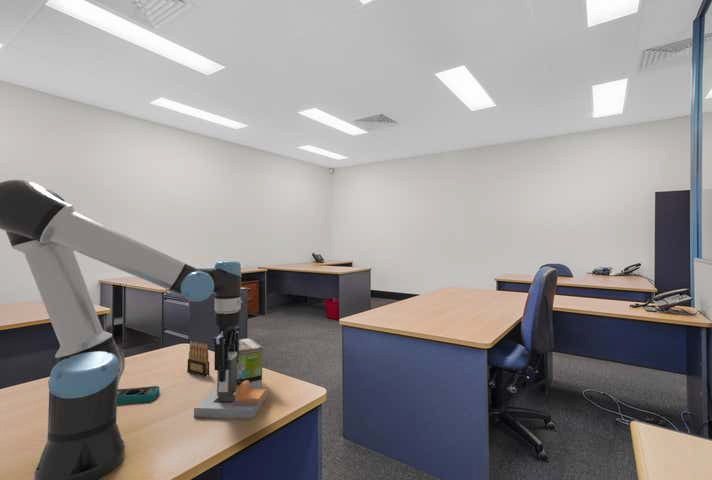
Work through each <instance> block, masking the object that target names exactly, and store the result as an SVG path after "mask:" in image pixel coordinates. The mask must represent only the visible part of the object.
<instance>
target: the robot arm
mask: <svg viewBox="0 0 712 480" xmlns="http://www.w3.org/2000/svg"><path fill="white" fill-rule="evenodd" d="M0 230H2V231H5V234H6V236H7V238H8V240H9V243H10V245H11V247H12V249H13V250H16V251H19V252H22V253H23V254H24V257H25V259H26V261H27V264H28V267H29V269H30V272H31V275H32V277H33V279H34V281H35V284H36V287H37V290H38V291H39V295H40V297H41V300H42V302H43V304H44V305H43V306H44V307H45V309H46V310H45V311H46V313H47V316H48V318H49V321H50V322H51V326H52V329H53V330H54V333H55V335H56V338H57V340H58V343H59V349H58V350H57V352H56V354H55V355H54V357H55V360H56V361H57V363H56V364H55V365H54V366H53V367H52V369H51V370H50V371H51V372H50V373H49V374H50V375H49V379H48V383H47V384H48V385H47V386H48V410H47V411H48V413H47V414H48V415H47V439H46V444H45V446H44V447H43V451H42V453H41V456H40V458H39V462H38V464H37V465H36V468H35V470H34V474H33V475H34V477H33V478H34V479H33V480H96V479H97V480H98V479H101V478H102V477H104V476H105V475H106V476H107V474H109V473H111V472H112V471H113V470H115V469H116V468H118V466H119V465H120V464H121V463H122V462H123V460H124V459H125V455H126V454H125V453H126V445H125V442H124V439H123V438H122V435H121V432H120V429H119V427H118V426H119V425H118V424H117V411H118V405H117V390H118V388H119V383H120V380H121V378H122V375H123V372H124V370H125V366H126V365H125V364H126V361H125V360H126V359H125V356H124V353H123V352H122V350H121V349H120V348H119V347H118V346H117V343H116V340H115V338H114V336H113V334H112V333H111V332H108V331H105V330H103V327H102V324H101V322H100V319H99V316H98V314H97V311H96V309H95V306H94V302H93V300H92V297H91V295H90V291H89V290H88V287H87V284H86V281H85V279H84V276H83V273H82V270H81V268H80V264H79V262H78V259H77V256H76V254H75V252H77V253H79V254H81V255H84V256H86V257H88V258H91V259H94V260H95V261H97V262H98V261H99V262H101V263H103V264H105V265H107V266H111V267H113V268H114V269H118V270H120V271H122V272H124V273H127V274H129V275H131V276H134V277H136V278H139V279H142V280H144V281H147V282H148V283H151V284H154V285H156V286H159V287H161V288H163V289H165V290H168V291H169V293H170V294H171V296H180V297H181V296H182V297H183V298H185V299H186V300H188V301H191V302H195V303H196V302H197V303H198V302H203V301H205V300H207V299H209V297H211V295H212V294H214V311H215V313H214V326H217V327H218V328H219V329H218V334H217V335H218V336H214V337H213V345H214V371H217V372H218V371H219V382H218V392H228V377H229V369H227V364H228V354H229V352H237V359H238V358H239V340H240V332H241V327H237V326H238V325H239V324H241V322H242V321H241V319H242V318H241V317H242V313H241V311H240V310H241V305H242V303H243V300H242V297H241V295H242V291H241V290H242V276H243V275H242V269H241V268H242V265H241V263H240V262H239V261H235V260H225V261H224V260H223V261H216V262H215V264H214V267H210V268H197V267H194V266H192V265H189V264H187V263H185V262H183V261H180V260H179V259H177V258H174V257H172V256H171V255H168V254H166V253H164V252H161V251H160V250H158V249H155V248H153V247H151V246H149V245H147V244H144V243H142V242H140V241H138V240H136V239H133V238H132V237H129V236H127V235H125V234H123V233H120V232H119V231H116V230H114V229H112V228H110V227H107V226H106V225H103V223H102V224H101V223H99V222H97V221H96V220H93V219H92V218H91V219H90V218H89V217H86V216H84V215H82V214H80V213H78V212H76V211H75V208H74V206H73V205H72V204H70V203H68V202H66V201H65V199H64V198H62V197H61V195H59V194H57V193H56V192H55V191H51V190H49V189H47V188H45V187H44V186H41V185H40V184H37V183H35V182H32V181H29V180H23V179H19V180H18V179H13V180H11V179H10V180H5V181H2V182H0ZM74 251H75V252H74ZM224 343H226V344H224ZM238 362H239V360H237V363H238Z"/></svg>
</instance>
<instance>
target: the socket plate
mask: <svg viewBox="0 0 712 480" xmlns="http://www.w3.org/2000/svg"><path fill="white" fill-rule="evenodd" d="M266 398H267V399H268V389H266V395H265V396H264V397H263V399H262V400H261V401H260V403H259V404H256V403H254V402H235V393H234V394H233V395H232V396H231V397H228V396H217V388H215V389H214V390H213V391H211V393H209V394H208V395H207V396H205V398H204V399H203V400H201V402H199V403H198V404H197V405H196V406H195V407H193V417H194V418H217V419H218V418H221V419H225V418H226V419H248V420H249V419H251V420H252V419H253V418H254V417H255V415H257V413H258V411H259V410H260V408H261V407H262V406H263V404H264V403H265V401H267V399H266Z"/></svg>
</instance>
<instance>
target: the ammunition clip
mask: <svg viewBox="0 0 712 480" xmlns="http://www.w3.org/2000/svg"><path fill="white" fill-rule="evenodd" d="M208 346H209V345H208V344H207V343H204V342H203V343H201V342H198V341H192V340H190V344H189V350H188V359H187V370H186V372H187V373H190V374H193V373H194V375H197V374H198V375H197V376H201V375H202V376H201V377H205V376H206V377H208V376H210V361H209V347H208ZM207 375H208V376H207Z"/></svg>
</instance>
